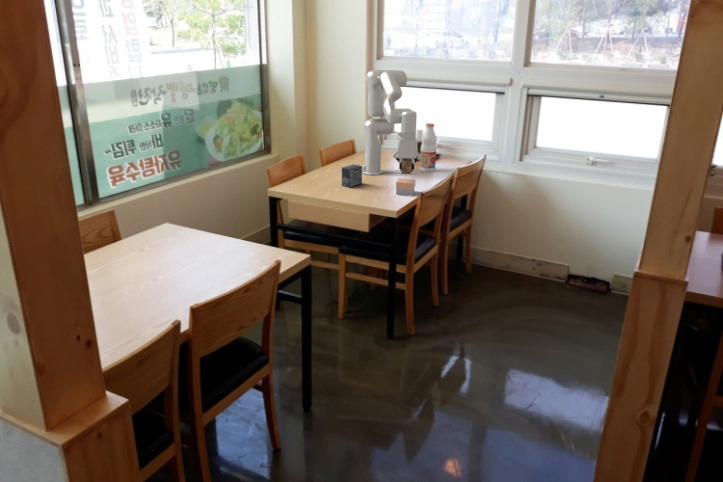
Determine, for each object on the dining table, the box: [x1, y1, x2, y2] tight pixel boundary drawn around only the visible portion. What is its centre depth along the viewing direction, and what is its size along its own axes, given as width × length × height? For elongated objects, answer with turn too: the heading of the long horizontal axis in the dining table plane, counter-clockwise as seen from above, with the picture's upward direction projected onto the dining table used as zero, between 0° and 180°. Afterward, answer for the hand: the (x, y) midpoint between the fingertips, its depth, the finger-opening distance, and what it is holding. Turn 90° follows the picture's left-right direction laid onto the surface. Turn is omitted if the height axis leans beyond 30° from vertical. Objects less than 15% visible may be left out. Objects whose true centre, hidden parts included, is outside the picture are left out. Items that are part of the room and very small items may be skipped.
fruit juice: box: [419, 123, 437, 173], centre depth 356 cm, size 9×9×28 cm
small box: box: [341, 164, 363, 189], centre depth 323 cm, size 11×6×10 cm, turn 141°
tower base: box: [395, 188, 415, 196], centre depth 312 cm, size 9×9×4 cm
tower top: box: [395, 177, 417, 190], centre depth 311 cm, size 9×9×4 cm
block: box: [400, 158, 412, 175], centre depth 307 cm, size 5×5×7 cm
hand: (406, 170), depth 308 cm, fingers closed on block, 5 cm apart
